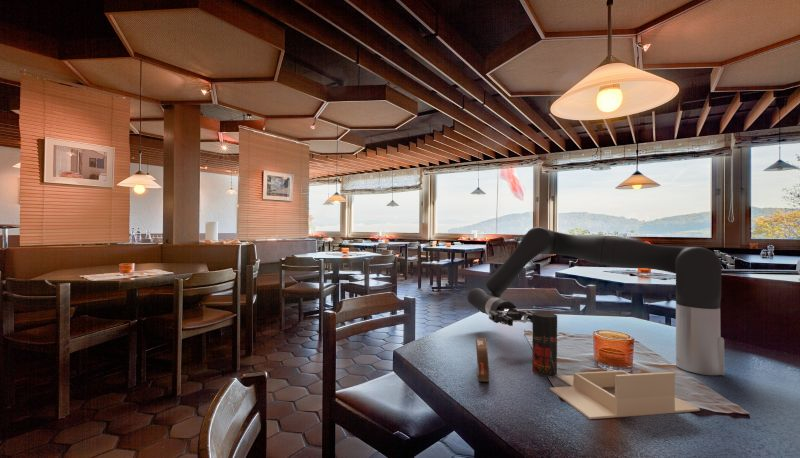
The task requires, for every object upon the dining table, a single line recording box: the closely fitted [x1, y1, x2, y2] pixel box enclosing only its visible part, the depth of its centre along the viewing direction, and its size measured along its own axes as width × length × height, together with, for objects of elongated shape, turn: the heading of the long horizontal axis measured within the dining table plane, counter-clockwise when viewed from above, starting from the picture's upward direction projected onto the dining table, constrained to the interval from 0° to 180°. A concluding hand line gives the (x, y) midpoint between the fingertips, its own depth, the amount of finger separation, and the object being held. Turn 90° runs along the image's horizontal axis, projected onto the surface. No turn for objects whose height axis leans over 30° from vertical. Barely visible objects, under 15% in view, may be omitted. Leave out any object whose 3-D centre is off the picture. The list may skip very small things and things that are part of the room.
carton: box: [549, 369, 701, 420], centre depth 79 cm, size 19×25×8 cm
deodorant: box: [531, 311, 558, 378], centre depth 91 cm, size 6×6×15 cm
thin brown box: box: [475, 337, 490, 383], centre depth 89 cm, size 15×3×8 cm, turn 168°
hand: (525, 322), depth 100 cm, fingers open, 8 cm apart
